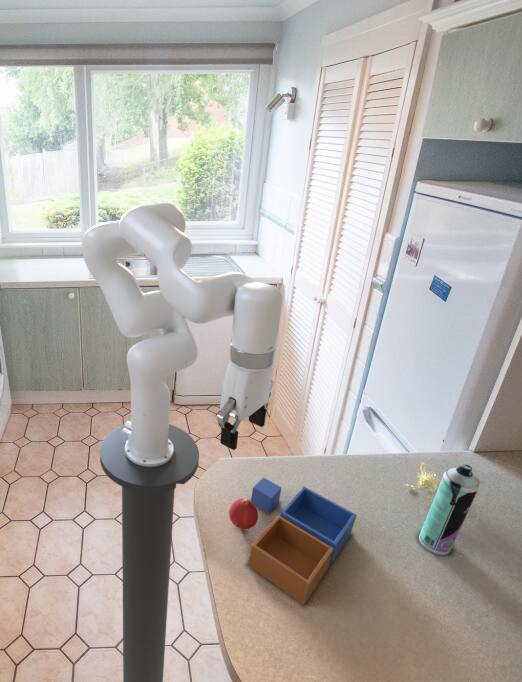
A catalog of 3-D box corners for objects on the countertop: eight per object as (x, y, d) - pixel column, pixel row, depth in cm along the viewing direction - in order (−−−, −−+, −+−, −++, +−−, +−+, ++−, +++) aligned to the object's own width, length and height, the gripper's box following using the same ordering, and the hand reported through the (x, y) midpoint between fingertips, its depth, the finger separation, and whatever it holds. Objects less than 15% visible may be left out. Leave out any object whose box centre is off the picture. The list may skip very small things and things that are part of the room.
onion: (226, 515, 98) (230, 487, 94) (253, 517, 97) (258, 489, 94) (229, 537, 93) (233, 508, 89) (257, 539, 92) (262, 510, 89)
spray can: (451, 559, 88) (487, 481, 79) (418, 547, 91) (450, 470, 82) (449, 539, 92) (483, 463, 84) (418, 528, 95) (448, 453, 86)
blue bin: (276, 531, 94) (280, 512, 92) (299, 505, 101) (303, 486, 98) (330, 565, 87) (336, 545, 84) (350, 534, 93) (356, 514, 91)
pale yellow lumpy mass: (465, 517, 101) (487, 483, 99) (434, 520, 93) (457, 484, 91) (417, 483, 110) (436, 452, 108) (384, 484, 102) (404, 450, 100)
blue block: (250, 502, 101) (252, 487, 99) (260, 492, 104) (263, 477, 102) (268, 513, 98) (271, 498, 96) (278, 502, 101) (281, 487, 99)
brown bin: (248, 565, 87) (251, 545, 84) (274, 534, 93) (278, 514, 91) (303, 605, 80) (309, 584, 77) (328, 568, 86) (333, 548, 84)
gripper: (258, 333, 87) (249, 408, 94) (204, 364, 76) (199, 446, 83) (295, 345, 82) (283, 423, 89) (243, 380, 71) (234, 465, 78)
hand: (242, 434), depth 86 cm, fingers open, 9 cm apart
